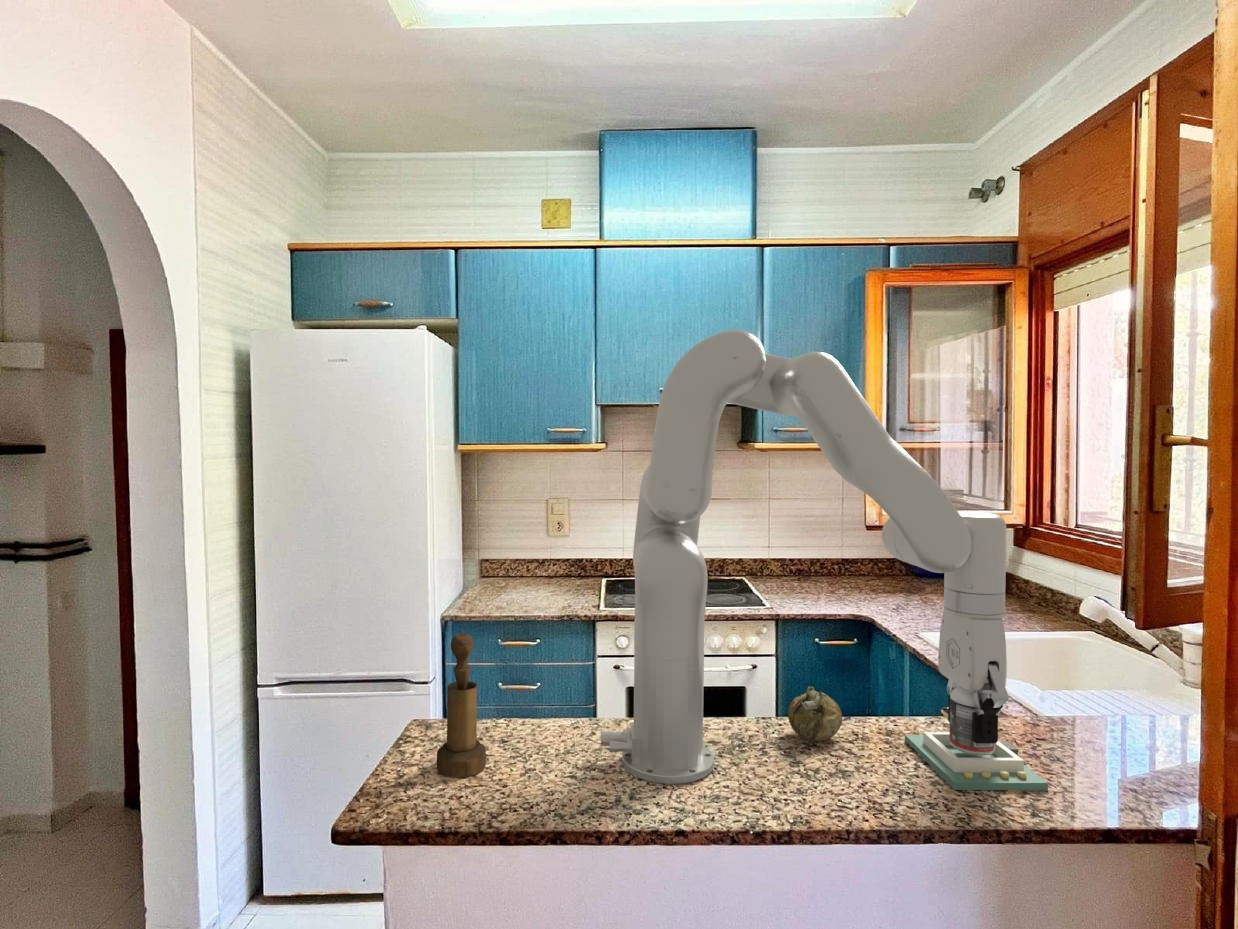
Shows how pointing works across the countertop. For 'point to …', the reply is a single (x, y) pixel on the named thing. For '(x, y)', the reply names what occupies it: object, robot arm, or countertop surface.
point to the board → (976, 765)
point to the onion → (815, 716)
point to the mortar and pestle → (461, 719)
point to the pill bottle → (966, 722)
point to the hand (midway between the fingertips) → (971, 731)
